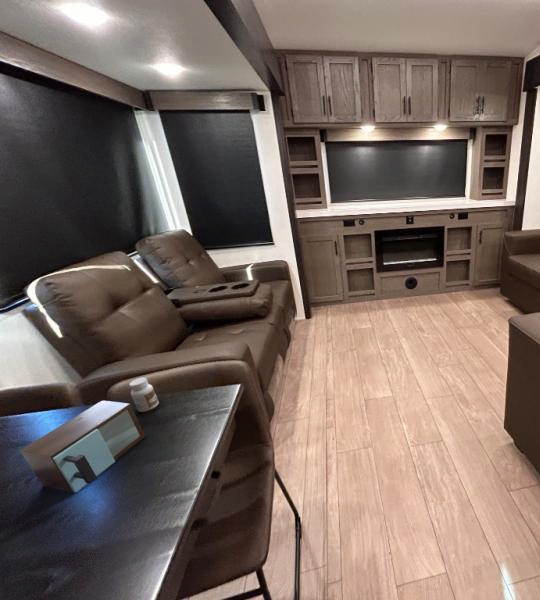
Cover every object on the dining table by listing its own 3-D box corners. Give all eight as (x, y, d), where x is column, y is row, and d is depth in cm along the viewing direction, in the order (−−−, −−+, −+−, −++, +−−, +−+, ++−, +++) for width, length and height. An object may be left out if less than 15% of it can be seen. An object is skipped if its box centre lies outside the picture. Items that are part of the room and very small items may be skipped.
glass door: (73, 492, 59) (52, 458, 56) (113, 461, 65) (96, 428, 62) (92, 496, 57) (71, 462, 54) (130, 464, 64) (114, 431, 61)
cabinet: (43, 486, 61) (19, 450, 57) (118, 431, 73) (102, 400, 70) (73, 493, 59) (50, 456, 56) (145, 436, 71) (130, 403, 68)
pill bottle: (156, 409, 80) (145, 383, 77) (135, 414, 79) (123, 388, 76) (161, 399, 84) (151, 374, 81) (141, 404, 82) (130, 379, 80)
